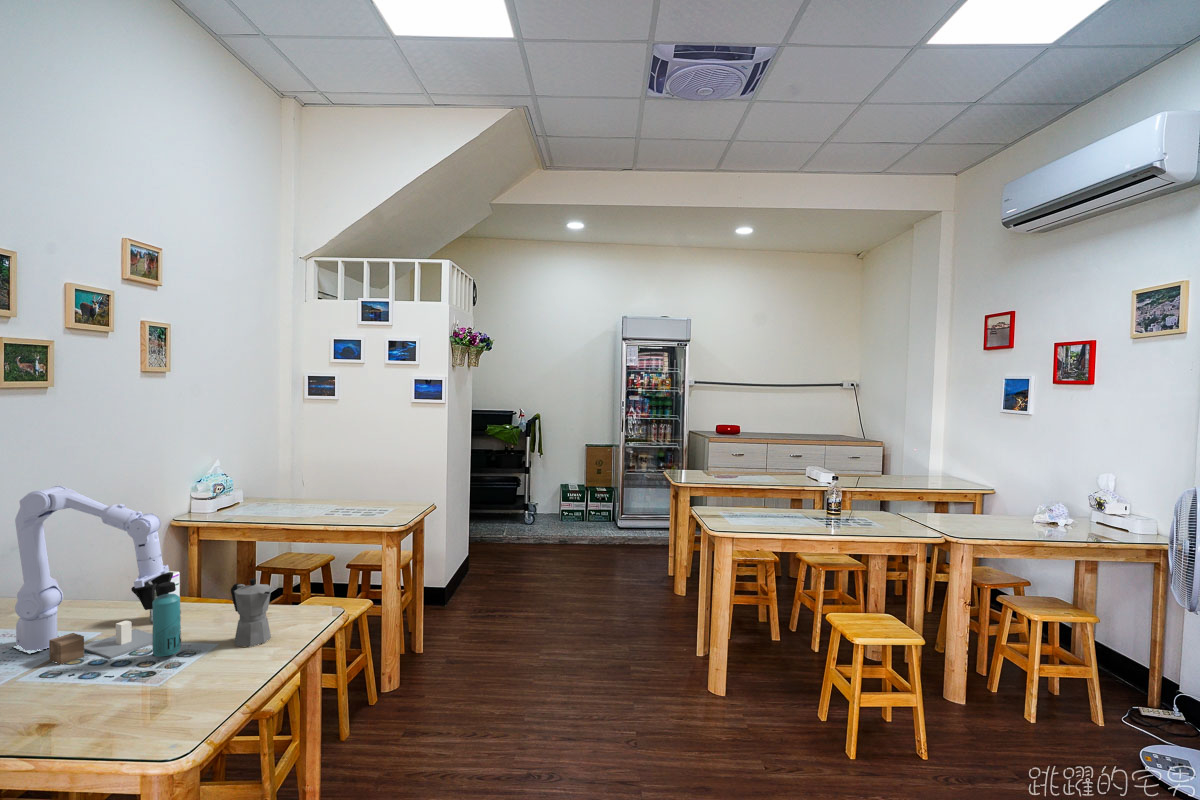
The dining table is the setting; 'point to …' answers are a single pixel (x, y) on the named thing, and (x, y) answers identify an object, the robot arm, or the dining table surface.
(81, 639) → the brown shipping carton
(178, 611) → the beverage bottle
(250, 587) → the coffeepot
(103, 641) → the flat grey base plate
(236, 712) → the dining table surface
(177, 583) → the syrup box
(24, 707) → the dining table surface
